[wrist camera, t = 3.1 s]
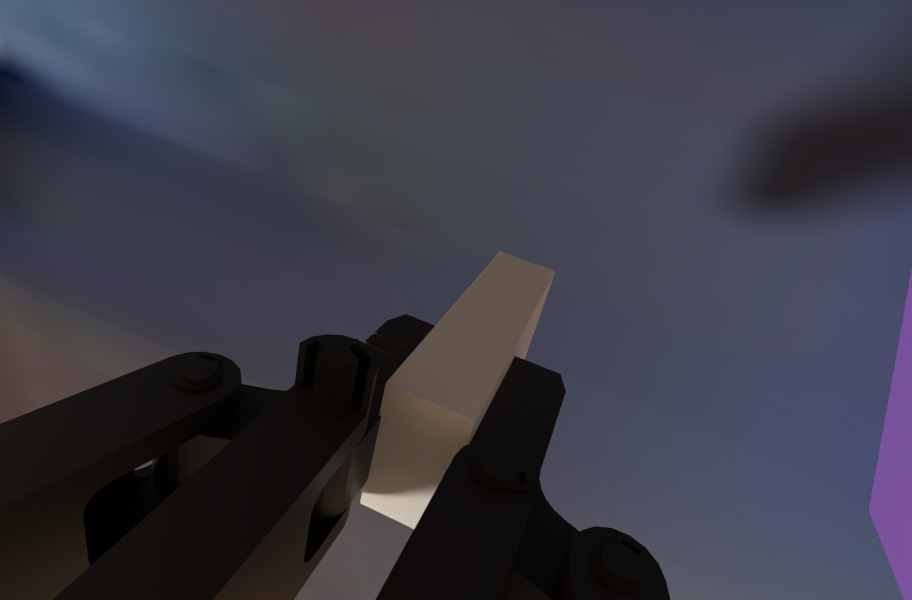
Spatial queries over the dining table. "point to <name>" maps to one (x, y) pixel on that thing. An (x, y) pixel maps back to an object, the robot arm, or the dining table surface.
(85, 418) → the robot arm
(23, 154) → the dining table surface
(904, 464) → the bracket
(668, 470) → the dining table surface
